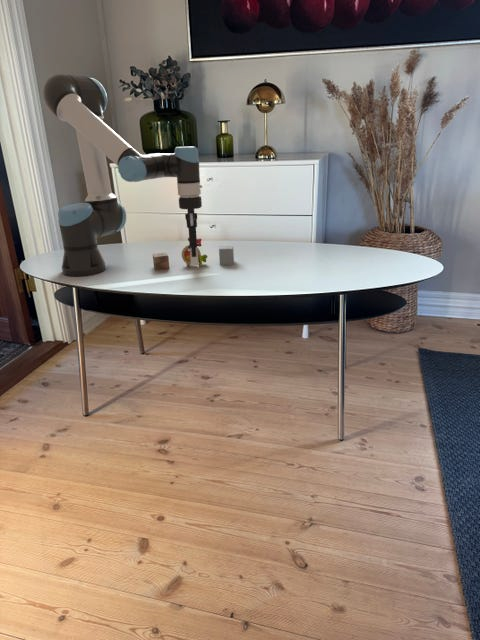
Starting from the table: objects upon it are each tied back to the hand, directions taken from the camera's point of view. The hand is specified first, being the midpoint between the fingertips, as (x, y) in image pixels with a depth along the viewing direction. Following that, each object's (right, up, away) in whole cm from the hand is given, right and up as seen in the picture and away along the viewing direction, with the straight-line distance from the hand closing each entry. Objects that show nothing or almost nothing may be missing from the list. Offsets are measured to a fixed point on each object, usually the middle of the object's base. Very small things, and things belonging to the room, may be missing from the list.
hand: (194, 265), depth 167 cm
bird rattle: (-1, +1, +8) cm, 9 cm away
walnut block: (-13, 0, +7) cm, 15 cm away
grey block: (+11, +2, +10) cm, 15 cm away
